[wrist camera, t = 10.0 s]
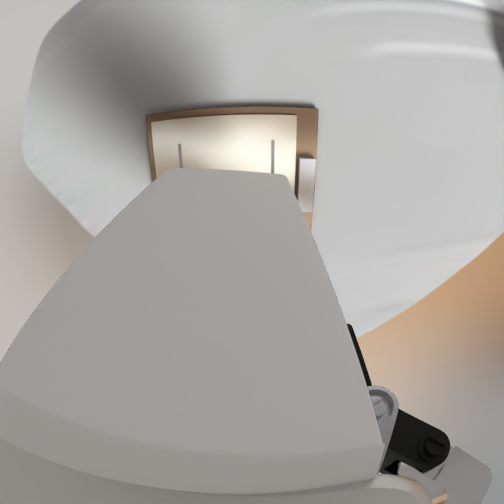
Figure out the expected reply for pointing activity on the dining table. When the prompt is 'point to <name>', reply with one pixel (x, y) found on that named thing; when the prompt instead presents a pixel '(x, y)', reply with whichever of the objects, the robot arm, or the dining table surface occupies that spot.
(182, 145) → the clipboard
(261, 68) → the dining table surface
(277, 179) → the milk carton
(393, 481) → the robot arm
